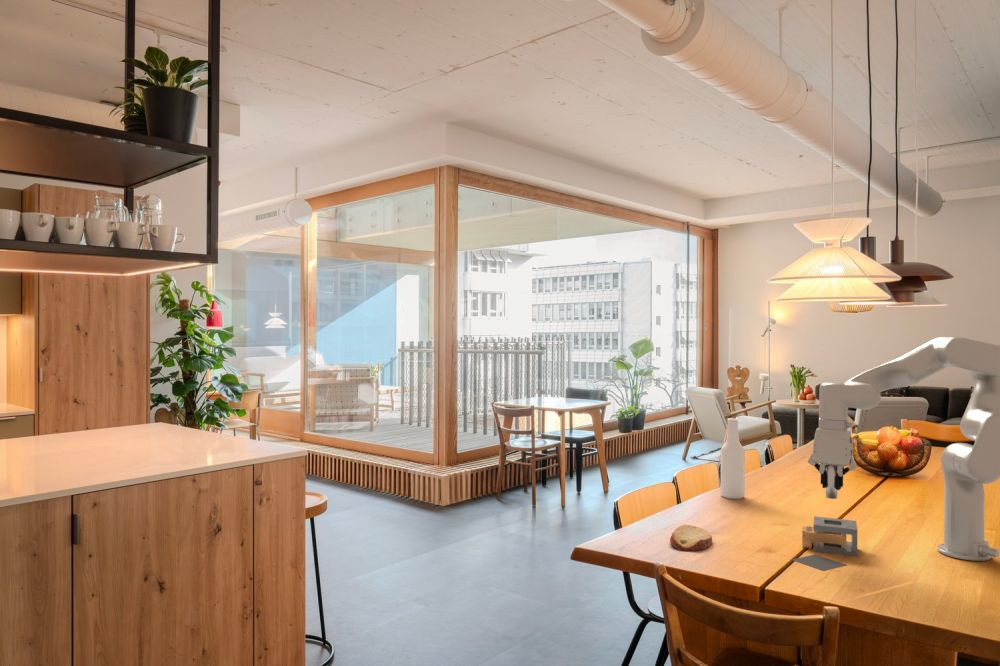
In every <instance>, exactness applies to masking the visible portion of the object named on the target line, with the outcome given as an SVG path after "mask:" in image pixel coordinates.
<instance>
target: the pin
mask: <svg viewBox="0 0 1000 666" xmlns="http://www.w3.org/2000/svg"><path fill="white" fill-rule="evenodd" d="M837 474H838V467H837V465H831V464H826V488H825V498H827V499H831V500H837V499H838V490H837V489H836V476H837Z"/></svg>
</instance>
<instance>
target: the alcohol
mask: <svg viewBox="0 0 1000 666" xmlns="http://www.w3.org/2000/svg"><path fill="white" fill-rule="evenodd" d="M726 424H727V430H726V440H725V442H724V444H723V445H722V446H721V449H720V495H721V497H723V498H725V499H731V500H741V499H743V498H744V497H745V492H746V491H745V489H746V487H745V485H746V480H745V478H746V477H745V475H746V470H745V469H746V460H745V459H746V452H745V448H744V446H743V445H742V444H741V442H740V435H739V433H740V432H739V419H738V418H735V417H729V418H727V423H726Z"/></svg>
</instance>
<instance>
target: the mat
mask: <svg viewBox="0 0 1000 666" xmlns="http://www.w3.org/2000/svg"><path fill="white" fill-rule="evenodd" d="M791 561H793V562H796V563H798V564H802V565H805V566H808V567H810V568H813V569H816V570H819V571H822V572H825V571H830V570H832V569H833V570H834V569H838V568H842V567H846V566H847V564H846V563H844V562H841V561H840V562H839V561H836V560H834V559H830V558H828V557H825V556H821V555H820V554H819V555H818V554H810V555H806V556H802V557H798V558H793V559H791Z"/></svg>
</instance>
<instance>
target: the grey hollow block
mask: <svg viewBox="0 0 1000 666" xmlns="http://www.w3.org/2000/svg"><path fill="white" fill-rule="evenodd" d="M801 533H802V536H801V537H802V540H801V541H802V542H801V545H802V546H801V547H802V548H804V549H812V547H813V552H817V553H824V554H831V555H840V556H845V557H846V556H847V557H848V556H849V557H855V558H858V525H857V520H850V519H840V518H833V517H825V516H816V515H815V516H814V517H813V526H810V525H809V526H808V525H807V526H802V531H801ZM847 535H848V536H849V535H850V536H851V541H847Z"/></svg>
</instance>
